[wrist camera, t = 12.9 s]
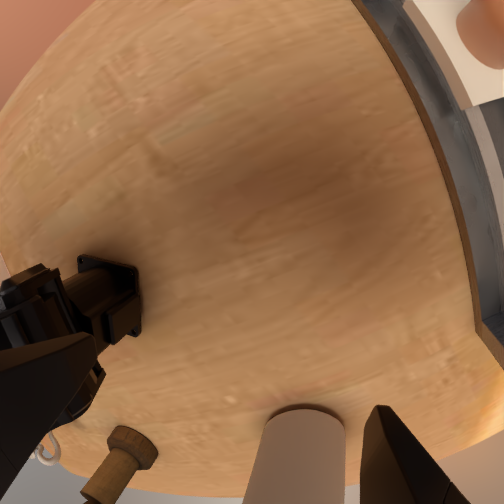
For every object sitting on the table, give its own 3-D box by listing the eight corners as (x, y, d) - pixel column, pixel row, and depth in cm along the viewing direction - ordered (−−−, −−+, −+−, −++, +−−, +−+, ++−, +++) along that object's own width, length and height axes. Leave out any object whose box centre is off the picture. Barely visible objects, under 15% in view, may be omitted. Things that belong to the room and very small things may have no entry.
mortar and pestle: (106, 423, 31) (32, 514, 14) (141, 427, 29) (64, 536, 13) (131, 455, 33) (71, 544, 16) (167, 461, 31) (107, 564, 14)
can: (331, 393, 22) (323, 520, 11) (354, 442, 24) (352, 548, 12) (251, 412, 25) (212, 522, 14) (283, 456, 26) (261, 553, 15)
